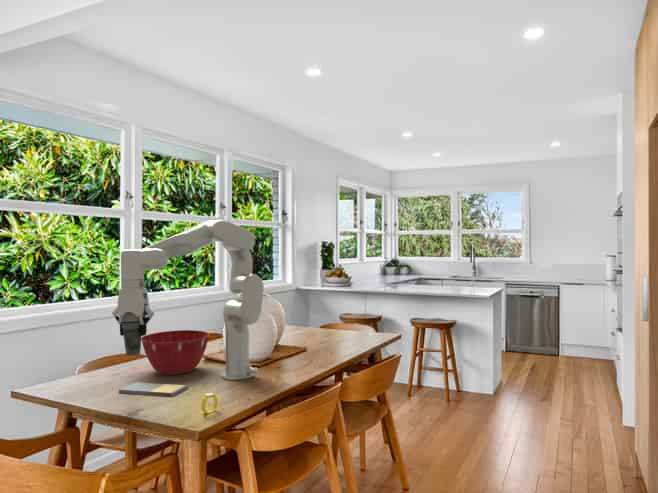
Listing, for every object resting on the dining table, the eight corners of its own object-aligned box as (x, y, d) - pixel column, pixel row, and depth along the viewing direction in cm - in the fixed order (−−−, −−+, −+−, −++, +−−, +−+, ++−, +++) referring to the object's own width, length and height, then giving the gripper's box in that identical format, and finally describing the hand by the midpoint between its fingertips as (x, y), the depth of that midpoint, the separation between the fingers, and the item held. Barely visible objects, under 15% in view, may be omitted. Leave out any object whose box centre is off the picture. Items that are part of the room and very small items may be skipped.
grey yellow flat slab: (187, 388, 185) (187, 385, 185) (172, 396, 175) (172, 392, 175) (135, 385, 190) (135, 382, 190) (118, 392, 180) (118, 389, 180)
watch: (206, 416, 155) (205, 397, 154) (199, 415, 156) (198, 396, 156) (219, 409, 160) (218, 391, 159) (213, 408, 161) (212, 390, 161)
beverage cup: (125, 352, 176) (123, 296, 176) (146, 351, 177) (144, 295, 177) (119, 357, 169) (116, 298, 169) (140, 355, 169) (138, 297, 170)
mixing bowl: (190, 381, 196) (190, 342, 196) (126, 378, 202) (126, 340, 202) (220, 365, 224) (220, 330, 224) (163, 362, 230) (162, 329, 230)
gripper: (160, 283, 175) (161, 334, 175) (117, 283, 179) (118, 332, 179) (148, 285, 168) (149, 337, 168) (104, 285, 172) (104, 336, 172)
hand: (133, 334), depth 173 cm, fingers closed on beverage cup, 6 cm apart
